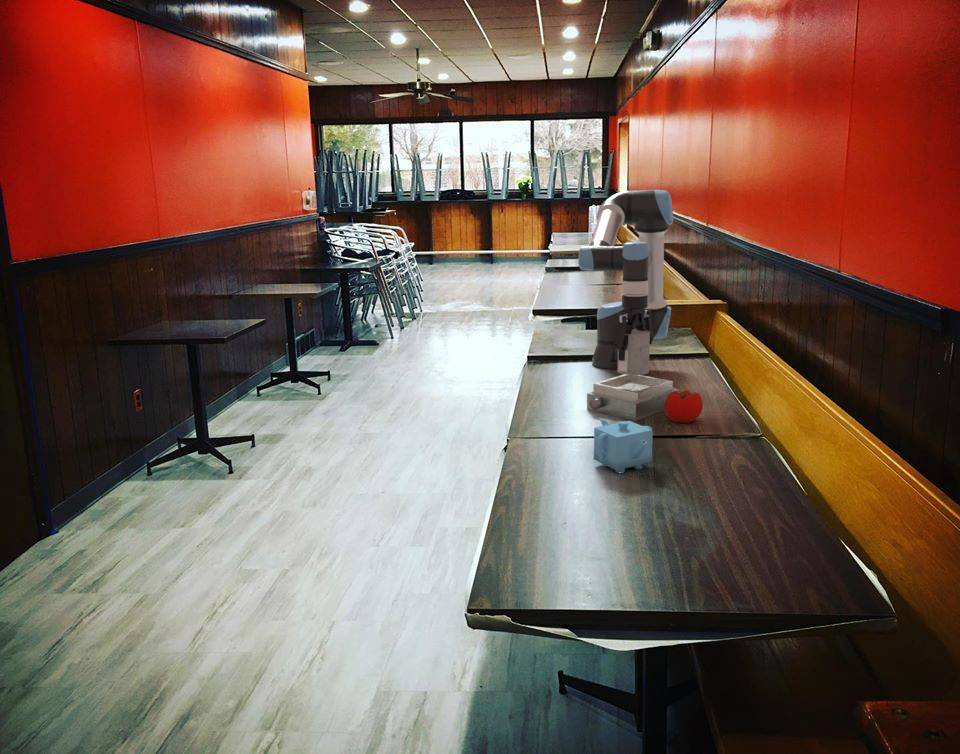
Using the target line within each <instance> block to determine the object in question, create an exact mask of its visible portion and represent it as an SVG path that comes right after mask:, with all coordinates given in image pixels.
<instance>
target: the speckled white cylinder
mask: <svg viewBox="0 0 960 754" xmlns="http://www.w3.org/2000/svg"><path fill="white" fill-rule="evenodd" d="M625 335H628V345H627V348H626V350H628V371H627V372H624V371H619V359H618V369H616V370H617V371H616V372H617V373H618V374H621V375H623V374H626V375H643V376H644V375H647V374H649V373H650V345H651V344H650V331H648V330H646V331H641V330H637V329H633V330H632V333H631V334H625ZM618 356H619V350H618Z"/></svg>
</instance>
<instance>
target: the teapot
mask: <svg viewBox="0 0 960 754" xmlns="http://www.w3.org/2000/svg"><path fill="white" fill-rule="evenodd" d="M599 421H600V422H601V424H602V425H601V426H595V427H594V428H593V460H594V461H597V462H598V463H601V465H602V464H603V465H605V466H604V467H606V466H608V468H611V469H612V470H614V471H615V473H616V472H621V473H620V474H623V473H622V472H625V473H626V469H629V468H634V469H636V470H642V468H643V469H644V466H643V465H646V464H651V463H653V461H652V460H653V427H651V426H649V425H640V424H639V423H635V422H633V421H632V420H625V421H623V420H621V421H618V422H617V423H616V422H615V423H611V424H609V422H608V421H607V419H605V418H603V417H599Z"/></svg>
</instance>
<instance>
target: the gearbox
mask: <svg viewBox="0 0 960 754" xmlns="http://www.w3.org/2000/svg"><path fill="white" fill-rule="evenodd" d="M673 383H674V381H673V380H668V379H662V378H658V377H652V376H647V375H644V374H643V375H626V374H621V375H617V376H614V377H611V378H607V379H605V380H601V381H597V382H595V383H593V387H592V390H593V391H591V392H587V393H586V409H587V410H590V411H593V412H597V413H601V414H606V415H610V416H614V417H618V418H622V419H627V420H629V421H639V420H641V419H644V418H646V417H649V416H652V415H656V414H657V413H660V412H663V411H665V406H664V405H665V401H666V399H667V397H668V395H669V394H670V393H672V392H674V391H677V392H679V388H675V387H674V386H673V385H674V384H673Z"/></svg>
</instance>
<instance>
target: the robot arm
mask: <svg viewBox="0 0 960 754" xmlns="http://www.w3.org/2000/svg"><path fill="white" fill-rule="evenodd" d="M671 196H672V195H671V194H670V192H669V191H668V190H667V189H666V190H665V189H642V190H640V189H638V190H622V191H619V192H617V193H615V194H613V195H610V196H609V197H608V198H606V199H605V200H604V201H603V202H602V203H601V205H600V206H599V207H598V209H597V213H596V221H597V222H596V224H595V227H594V231H593V233H592V236H591V240H590V242H589V245H583V246H581V247H579V250H578V260H577V261H578V267H579V269H580V270H582V271H590V272H593V271H599V272H600V271H601V272H602V271H605V272H606V271H607V272H608V271H609V272H610V271H612V272H614V271H616V272H617V271H618V272H619V271H620V272H622V280H621V281H622V288H621V289H622V294H623V295H622V296H621V301H616V302H609V303H603V304H602V305H600V306H599V307H598V309H597V314H596V315H597V316H596V320H597V321H596V324H597V326H596V328H597V329H596V331H597V332H596V333H597V334H596V346H595V349H594V352H593V356H592V360H591V361H592V362H591V364H592V366H593V367H596V368H600V369H608V370H609V369H610V370H611V369H612V370H618V359H619V371H624V372H627V371H628V350H626V348H627V345H628V335H625V334H631V333H632V330H633V329H637V330H641V331H646V330H648V331H650V345H652V344H653V341H654V340H656V339H665V338H666V337H667V336H668V330H669V326H670V319H671V314H672V307H671V306H668V301H667V300H666V299H665V298H664V273H665V272H664V269H665V268H664V267H665V265H664V262H665V261H664V259H665V234H666V233H667V232H668V231H669V227H670V226H671V225H673V222H674V209H673V202H672V201H673V200H672V197H671ZM624 225H625V226H627V225H628V226H634V232H636V234H638V241H627V242H625V243H624V244H623V245H622V246H621V245H615V244H616V240H617V237H618V232H619V230H620V228H621V227H622V226H624ZM618 350H619V356H618Z"/></svg>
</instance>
